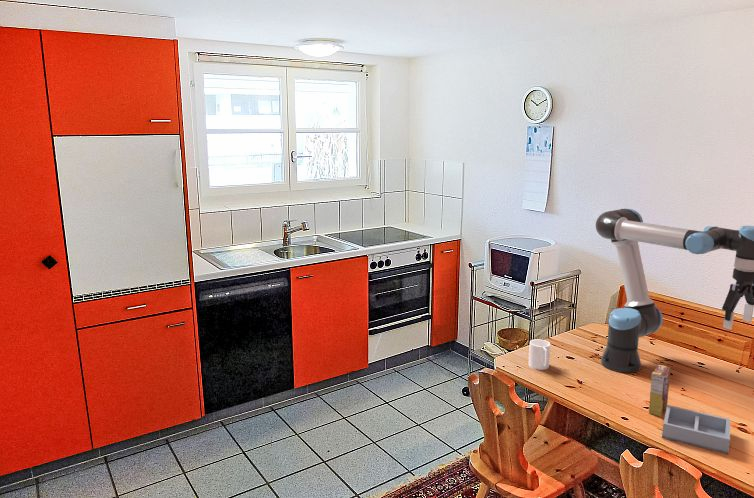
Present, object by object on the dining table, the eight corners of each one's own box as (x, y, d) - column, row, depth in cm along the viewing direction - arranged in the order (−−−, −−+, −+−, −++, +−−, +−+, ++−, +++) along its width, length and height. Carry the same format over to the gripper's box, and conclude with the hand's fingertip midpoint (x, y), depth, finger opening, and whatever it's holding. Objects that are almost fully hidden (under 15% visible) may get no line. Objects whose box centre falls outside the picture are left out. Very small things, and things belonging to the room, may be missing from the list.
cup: (535, 374, 222) (537, 351, 220) (525, 361, 234) (526, 339, 232) (555, 373, 223) (557, 350, 220) (544, 361, 234) (546, 338, 232)
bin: (661, 437, 176) (663, 423, 175) (665, 418, 188) (667, 404, 187) (727, 454, 167) (730, 439, 166) (727, 432, 179) (729, 418, 178)
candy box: (654, 403, 198) (658, 364, 195) (667, 407, 195) (671, 367, 192) (647, 413, 191) (651, 372, 188) (660, 417, 189) (665, 376, 185)
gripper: (738, 276, 188) (729, 334, 193) (775, 266, 201) (765, 321, 206) (716, 271, 194) (707, 328, 199) (752, 262, 207) (743, 315, 212)
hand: (737, 324), depth 202 cm, fingers open, 13 cm apart
